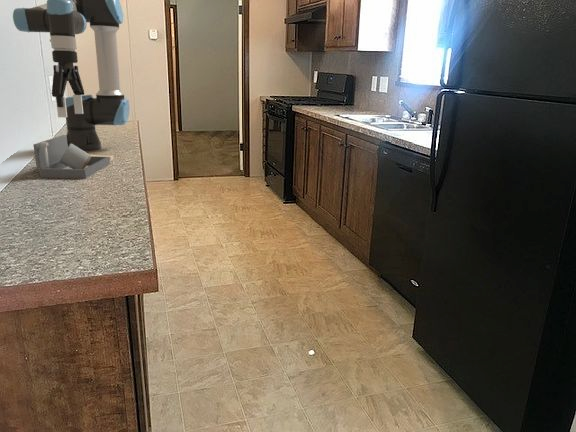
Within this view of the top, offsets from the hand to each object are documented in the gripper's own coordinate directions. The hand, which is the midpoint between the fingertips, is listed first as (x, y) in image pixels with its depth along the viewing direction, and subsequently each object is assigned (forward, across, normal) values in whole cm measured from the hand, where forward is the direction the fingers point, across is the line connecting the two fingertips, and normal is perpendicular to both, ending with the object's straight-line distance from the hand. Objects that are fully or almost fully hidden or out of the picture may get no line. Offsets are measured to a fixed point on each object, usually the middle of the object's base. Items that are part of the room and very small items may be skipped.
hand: (71, 115), depth 162 cm
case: (+19, 0, 0) cm, 19 cm away
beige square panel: (+19, -20, -2) cm, 28 cm away
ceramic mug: (+20, 0, 0) cm, 20 cm away
